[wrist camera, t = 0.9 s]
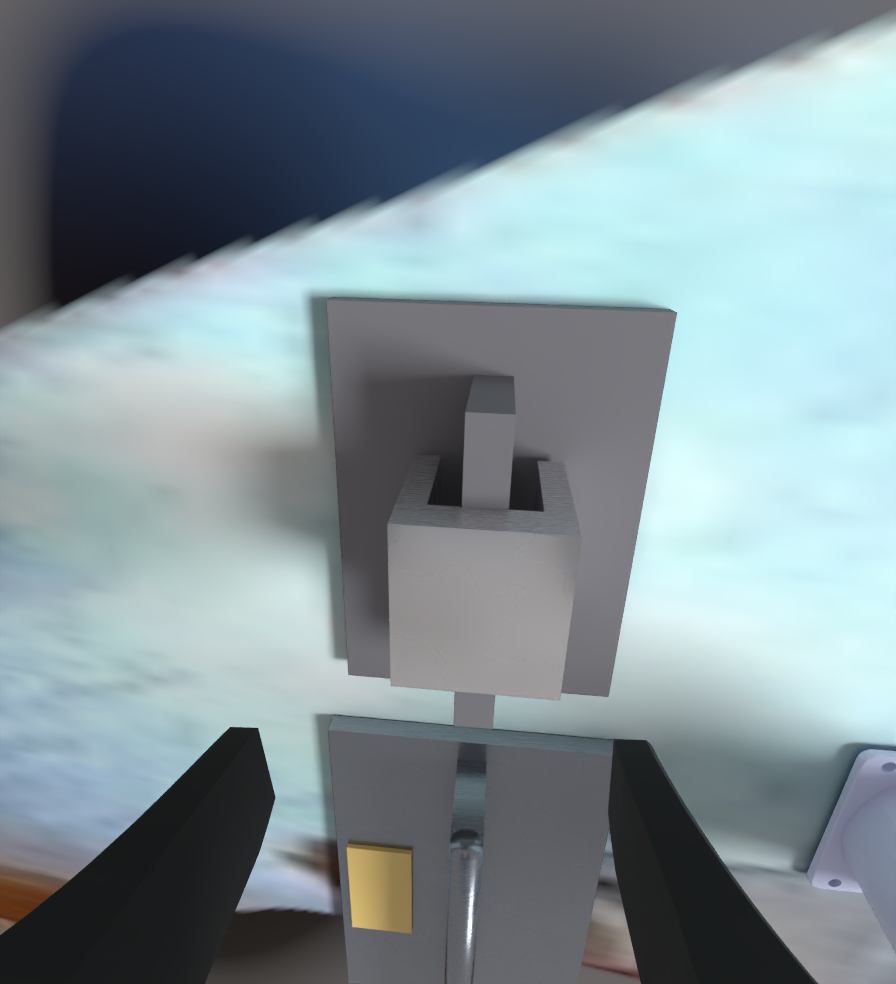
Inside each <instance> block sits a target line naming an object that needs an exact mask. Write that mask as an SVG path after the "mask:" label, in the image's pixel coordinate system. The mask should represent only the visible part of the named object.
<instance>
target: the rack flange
mask: <svg viewBox="0 0 896 984" xmlns="http://www.w3.org/2000/svg"><path fill="white" fill-rule="evenodd" d="M328 736H329V748H330V760H331V773H332V785H333V797H334V810H335V822H336V834H337V847H338V859H339V871H340V884H341V896H342V908H343V920H344V933H345V945H346V958H347V969H348V982H349V984H577V982H578V978H579V973H580V968H581V963H582V958H583V953H584V948H585V943H586V938H587V933H588V929H589V924H590V919H591V914H592V909H593V904H594V899H595V894H596V889H597V884H598V880H599V875H600V870H601V865H602V860H603V855H604V850H605V845H606V840H607V835H608V830H609V818H608V804H609V792H610V779H611V767H612V754H613V742H614V740H604V739H593V738H582V737H571V736H560V735H549V734H538V733H526V732H515V731H504V730H493V729H482V728H471V727H460V726H448V725H437V724H426V723H415V722H404V721H393V720H382V719H370V718H359V717H348V716H337V715H333V717H332V720H331V723H330V726H329V728H328Z"/></svg>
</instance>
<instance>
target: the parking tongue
mask: <svg viewBox="0 0 896 984" xmlns="http://www.w3.org/2000/svg"><path fill="white" fill-rule="evenodd" d="M676 315H677V312H675V311H673V310H671V309H652V308H624V307H596V306H568V305H540V304H512V303H484V302H456V301H427V300H399V299H371V298H343V297H333V298H330V299H328V300H327V317H328V334H329V351H330V368H331V386H332V403H333V420H334V437H335V454H336V471H337V488H338V505H339V522H340V539H341V556H342V573H343V590H344V607H345V624H346V641H347V658H348V675H355V676H367V677H379V678H391V674H390V626H389V578H388V530H387V524H388V521H389V519H390V516H391V514H392V511H393V509H394V506H395V504H396V502H397V499H398V497H399V494H400V492H401V489H402V487H403V484H404V482H405V480H406V477H407V475H408V472H409V470H410V467H411V465H412V462H413V460H414V458H415V455H416V454H420V455H438V456H441V489H440V505H442V506H458V507H474V508H490V509H506V510H523V511H533V505H534V494H535V483H536V473H537V462H538V461H547V462H564V466H565V470H566V474H567V478H568V482H569V486H570V490H571V494H572V498H573V502H574V506H575V510H576V514H577V518H578V522H579V526H580V530H581V534H582V540H581V548H580V555H579V562H578V570H577V577H576V585H575V592H574V600H573V607H572V614H571V622H570V629H569V637H568V644H567V652H566V659H565V666H564V674H563V681H562V689H561V693H568V694H580V695H592V696H604V697H608V696H609V690H610V685H611V679H612V674H613V668H614V662H615V657H616V651H617V646H618V640H619V634H620V629H621V623H622V618H623V612H624V606H625V601H626V595H627V590H628V584H629V578H630V573H631V567H632V562H633V556H634V550H635V545H636V539H637V534H638V528H639V522H640V517H641V511H642V506H643V500H644V494H645V489H646V483H647V478H648V472H649V466H650V461H651V455H652V450H653V444H654V439H655V433H656V427H657V422H658V416H659V411H660V405H661V399H662V394H663V388H664V383H665V377H666V371H667V366H668V360H669V355H670V349H671V343H672V338H673V332H674V327H675V321H676ZM494 701H495V695H492V694H480V693H468V692H457V691H455V699H454V726H462V727H473V728H484V729H492V728H493V715H494Z"/></svg>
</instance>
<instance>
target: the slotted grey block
mask: <svg viewBox="0 0 896 984" xmlns="http://www.w3.org/2000/svg"><path fill="white" fill-rule="evenodd" d="M440 489H441V456H438V455H420V454H416V455H415V458H414V460H413V462H412V465H411V467H410V470H409V472H408V475H407V477H406V480H405V482H404V484H403V487H402V489H401V492H400V494H399V497H398V499H397V502H396V504H395V506H394V509H393V511H392V514H391V516H390V519H389V521H388V524H387V530H388V578H389V626H390V674H391V686H398V687H410V688H422V689H433V690H445V691H457V692H468V693H480V694H492V695H504V696H515V697H527V698H539V699H551V700H560V696H561V689H562V681H563V674H564V666H565V659H566V652H567V644H568V637H569V629H570V622H571V614H572V607H573V600H574V592H575V585H576V577H577V570H578V562H579V555H580V548H581V540H582V534H581V530H580V526H579V522H578V518H577V514H576V510H575V506H574V502H573V498H572V494H571V490H570V486H569V482H568V478H567V474H566V470H565V466H564V462H547V461H538V462H537V473H536V483H535V494H534V505H533V511H523V510H506V509H490V508H474V507H458V506H442V505H440Z"/></svg>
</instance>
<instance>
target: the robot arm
mask: <svg viewBox="0 0 896 984" xmlns="http://www.w3.org/2000/svg"><path fill="white" fill-rule="evenodd" d="M274 801H275V794H274V790H273V786H272V782H271V778H270V774H269V770H268V766H267V762H266V758H265V754H264V750H263V746H262V742H261V738H260V734H259V730H258V728H242V727H230V728H229V729H228V730H227V731H226V732H225V733H224V734H223V735H222V736H221V737H220V738H219V739H218V740H217V741H216V742H215V743H214V744H213V745H212V746H211V747H210V748H209V749H208V750H207V751H206V752H205V753H204V754H203V755H202V756H201V757H200V758H199V759H198V760H197V761H196V762H195V763H194V764H193V765H192V766H191V767H190V768H189V769H188V770H187V771H186V772H185V773H184V774H183V775H182V776H181V777H180V778H179V779H178V780H177V781H176V782H175V783H174V784H173V785H172V786H171V787H170V788H169V789H168V790H167V791H166V792H165V793H164V794H163V795H162V796H161V797H160V798H159V799H158V800H157V801H156V802H155V803H154V804H153V805H152V806H151V807H150V808H149V809H148V810H147V811H146V812H145V813H144V814H143V815H142V816H141V817H140V818H138V819H137V820H136V821H135V822H134V823H133V824H132V825H131V826H130V827H129V828H128V829H127V830H126V831H125V832H123V833H122V834H121V835H120V836H119V837H118V838H117V839H116V840H115V841H114V842H113V843H111V844H110V845H109V846H108V847H107V848H106V849H105V850H104V851H103V852H102V853H101V854H99V855H98V856H97V857H96V858H95V859H94V860H93V861H92V862H91V863H89V864H88V865H87V866H86V867H85V868H84V869H83V870H81V871H80V872H79V873H78V874H77V875H76V876H74V877H73V878H72V879H71V880H70V881H69V882H67V883H66V884H65V885H64V886H63V887H61V888H60V889H59V890H58V891H56V892H55V893H54V894H53V895H51V896H50V897H49V898H48V899H47V900H45V901H44V902H43V903H42V904H40V905H39V906H38V907H37V908H35V909H34V910H33V911H32V912H30V913H29V914H28V915H26V916H25V917H24V918H23V919H21V920H20V921H19V922H17V923H16V924H15V925H13V926H12V927H11V928H9V929H8V930H7V931H5V932H4V933H2V934H1V935H0V984H205V981H206V979H207V976H208V974H209V972H210V969H211V967H212V965H213V962H214V960H215V957H216V955H217V953H218V950H219V948H220V946H221V943H222V941H223V938H224V936H225V934H226V931H227V929H228V926H229V924H230V922H231V919H232V917H233V915H234V912H235V910H236V908H237V905H238V903H239V900H240V898H241V896H242V893H243V891H244V888H245V886H246V884H247V881H248V879H249V876H250V874H251V871H252V869H253V867H254V864H255V862H256V859H257V857H258V854H259V852H260V849H261V845H262V842H263V839H264V836H265V832H266V829H267V826H268V822H269V819H270V815H271V812H272V808H273V804H274ZM608 818H609V826H610V834H611V842H612V849H613V857H614V864H615V871H616V876H617V880H618V885H619V889H620V893H621V898H622V902H623V907H624V911H625V916H626V920H627V924H628V929H629V933H630V937H631V942H632V946H633V950H634V955H635V959H636V963H637V968H638V972H639V977H640V981H641V984H818V983H817V982H816V981H815V980H814V978H813V977H812V976H811V975H810V974H809V973H808V971H807V970H806V969H805V968H804V967H803V965H802V964H801V963H800V962H799V961H798V959H797V958H796V957H795V956H794V954H793V953H792V952H791V951H790V950H789V948H788V947H787V946H786V945H785V944H784V942H783V941H782V940H781V939H780V937H779V936H778V935H777V934H776V932H775V931H774V930H773V929H772V927H771V926H770V925H769V923H768V922H767V921H766V920H765V918H764V917H763V916H762V914H761V913H760V912H759V910H758V909H757V908H756V907H755V905H754V904H753V902H752V901H751V900H750V898H749V897H748V896H747V894H746V893H745V892H744V890H743V889H742V888H741V886H740V885H739V884H738V882H737V881H736V879H735V878H734V877H733V875H732V874H731V872H730V871H729V870H728V868H727V867H726V865H725V864H724V863H723V861H722V860H721V858H720V857H719V855H718V854H717V852H716V851H715V849H714V848H713V846H712V845H711V843H710V842H709V840H708V839H707V837H706V836H705V834H704V833H703V831H702V830H701V828H700V827H699V825H698V824H697V822H696V821H695V819H694V818H693V816H692V815H691V813H690V811H689V810H688V808H687V807H686V805H685V803H684V802H683V800H682V798H681V797H680V795H679V794H678V792H677V790H676V789H675V787H674V785H673V784H672V782H671V780H670V778H669V777H668V775H667V773H666V771H665V770H664V768H663V766H662V764H661V762H660V761H659V759H658V757H657V755H656V753H655V751H654V749H653V747H652V745H651V744H650V743H649V742H648V741H646V740H622V739H614V742H613V754H612V767H611V779H610V792H609V804H608ZM807 877H808V879H809V881H810V883H811V885H812V886H814V887H816V888H821V889H830V890H840V891H849V892H859V893H863V894H864V896H865V898H866V899H867V901H868V903H869V905H870V907H871V909H872V911H873V912H874V914H875V916H876V918H877V920H878V922H879V924H880V925H881V927H882V929H883V931H884V933H885V935H886V937H887V938H888V940H889V942H890V944H891V946H892V948H893V950H894V951H895V953H896V751H887V750H875V749H869V750H865V751H863V752H861V753H860V754H859V755H858V756H857V758H856V760H855V763H854V765H853V767H852V770H851V772H850V774H849V777H848V779H847V781H846V783H845V786H844V788H843V790H842V793H841V795H840V797H839V800H838V802H837V804H836V807H835V809H834V811H833V814H832V816H831V818H830V821H829V823H828V825H827V828H826V830H825V832H824V835H823V837H822V839H821V842H820V844H819V846H818V848H817V851H816V853H815V855H814V858H813V860H812V862H811V865H810V867H809V869H808V872H807Z"/></svg>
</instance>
